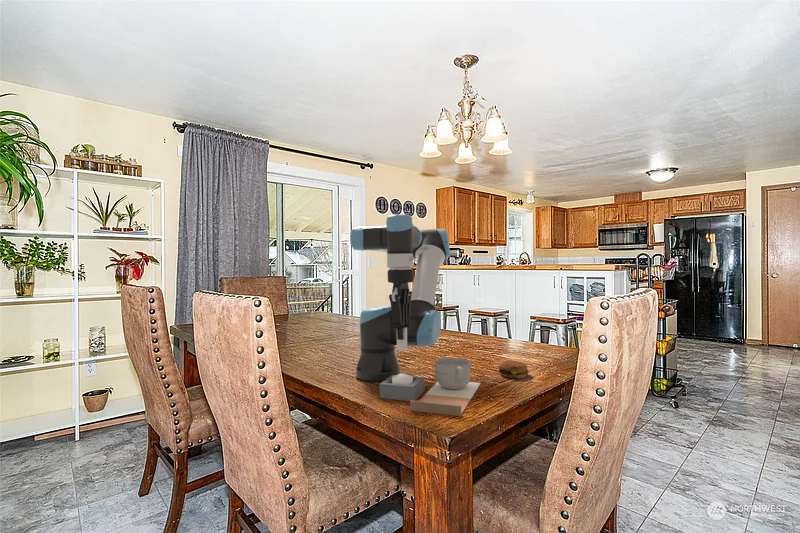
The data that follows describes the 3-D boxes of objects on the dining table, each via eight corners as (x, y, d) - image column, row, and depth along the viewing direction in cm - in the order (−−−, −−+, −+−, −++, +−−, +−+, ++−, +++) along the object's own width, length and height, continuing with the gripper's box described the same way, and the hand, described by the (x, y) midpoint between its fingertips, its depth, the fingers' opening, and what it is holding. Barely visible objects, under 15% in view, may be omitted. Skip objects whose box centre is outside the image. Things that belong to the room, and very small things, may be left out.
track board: (410, 410, 106) (410, 401, 106) (439, 380, 133) (439, 373, 133) (460, 416, 102) (460, 406, 102) (480, 383, 129) (480, 376, 129)
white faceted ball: (389, 396, 118) (388, 375, 118) (396, 390, 124) (396, 370, 124) (409, 398, 116) (408, 377, 116) (415, 392, 121) (415, 371, 121)
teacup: (434, 381, 131) (434, 356, 131) (469, 381, 130) (468, 356, 130) (437, 395, 117) (436, 367, 117) (475, 395, 116) (475, 366, 116)
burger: (515, 370, 145) (515, 357, 145) (534, 377, 136) (534, 362, 136) (492, 374, 140) (491, 360, 140) (510, 381, 132) (510, 366, 132)
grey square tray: (379, 398, 117) (379, 383, 117) (392, 387, 126) (392, 374, 126) (413, 401, 113) (413, 386, 113) (424, 390, 123) (424, 377, 123)
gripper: (405, 269, 112) (406, 356, 113) (419, 267, 125) (421, 346, 125) (379, 269, 115) (381, 354, 115) (396, 268, 127) (398, 345, 128)
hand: (402, 350), depth 120 cm, fingers closed
